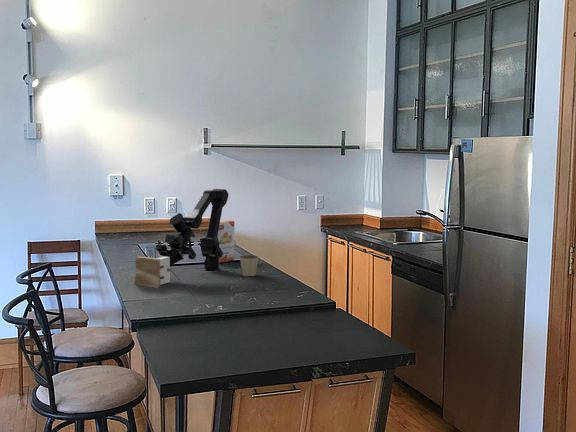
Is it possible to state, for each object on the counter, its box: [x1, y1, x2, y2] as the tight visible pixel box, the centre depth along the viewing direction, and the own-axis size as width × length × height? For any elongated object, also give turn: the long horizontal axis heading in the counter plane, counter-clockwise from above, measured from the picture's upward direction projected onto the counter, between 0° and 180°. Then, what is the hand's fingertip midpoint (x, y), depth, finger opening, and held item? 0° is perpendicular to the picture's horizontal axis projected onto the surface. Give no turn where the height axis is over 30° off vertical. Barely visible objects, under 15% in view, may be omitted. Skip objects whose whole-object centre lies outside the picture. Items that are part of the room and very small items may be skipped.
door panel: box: [156, 256, 172, 286], centre depth 276 cm, size 8×4×11 cm, turn 152°
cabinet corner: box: [134, 256, 164, 289], centre depth 279 cm, size 15×14×12 cm
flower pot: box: [238, 254, 260, 277], centre depth 297 cm, size 9×9×9 cm
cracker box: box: [208, 219, 235, 264], centre depth 331 cm, size 14×6×21 cm, turn 143°
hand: (167, 267), depth 280 cm, fingers closed, pressing on door panel
